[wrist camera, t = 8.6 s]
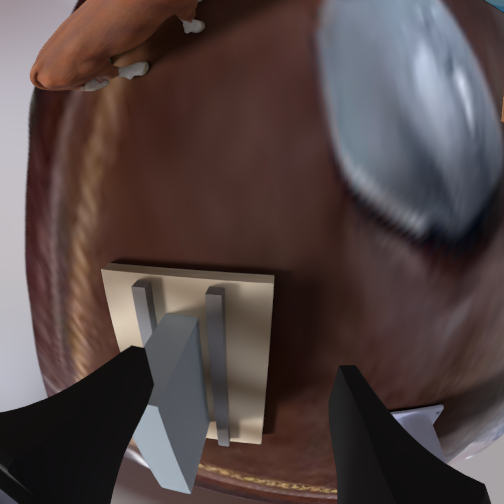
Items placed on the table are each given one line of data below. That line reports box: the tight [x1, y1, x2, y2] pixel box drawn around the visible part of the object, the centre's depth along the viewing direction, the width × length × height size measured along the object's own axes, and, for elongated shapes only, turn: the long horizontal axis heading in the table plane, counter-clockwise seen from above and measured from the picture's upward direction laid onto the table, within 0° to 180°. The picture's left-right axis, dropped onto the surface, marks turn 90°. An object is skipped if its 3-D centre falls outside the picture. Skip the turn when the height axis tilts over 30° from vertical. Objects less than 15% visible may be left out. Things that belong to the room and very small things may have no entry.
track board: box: [101, 263, 274, 446], centre depth 21 cm, size 18×12×2 cm, turn 179°
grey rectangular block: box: [133, 313, 210, 494], centre depth 17 cm, size 12×2×8 cm, turn 178°
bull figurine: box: [30, 0, 205, 91], centre depth 10 cm, size 4×13×8 cm, turn 117°
